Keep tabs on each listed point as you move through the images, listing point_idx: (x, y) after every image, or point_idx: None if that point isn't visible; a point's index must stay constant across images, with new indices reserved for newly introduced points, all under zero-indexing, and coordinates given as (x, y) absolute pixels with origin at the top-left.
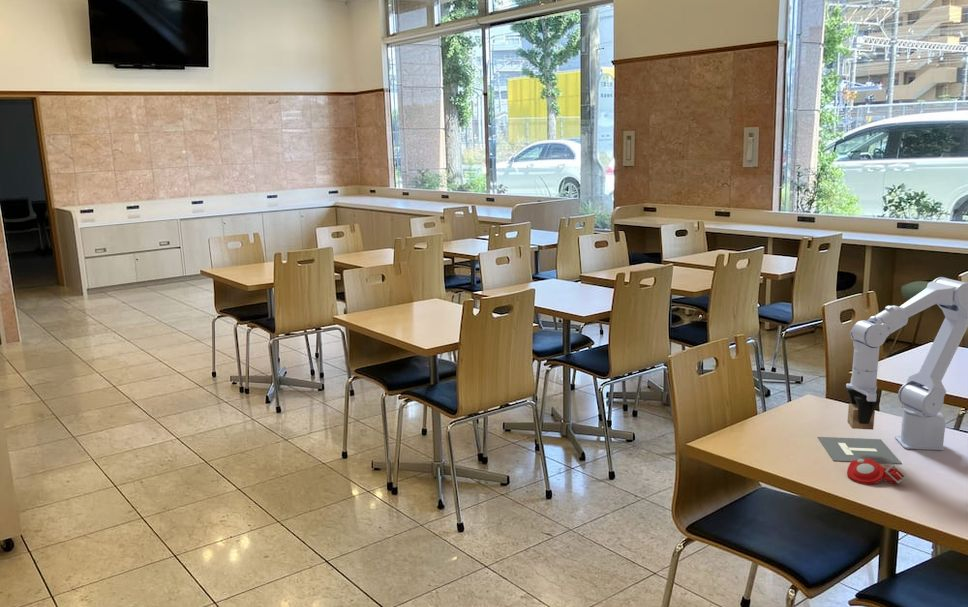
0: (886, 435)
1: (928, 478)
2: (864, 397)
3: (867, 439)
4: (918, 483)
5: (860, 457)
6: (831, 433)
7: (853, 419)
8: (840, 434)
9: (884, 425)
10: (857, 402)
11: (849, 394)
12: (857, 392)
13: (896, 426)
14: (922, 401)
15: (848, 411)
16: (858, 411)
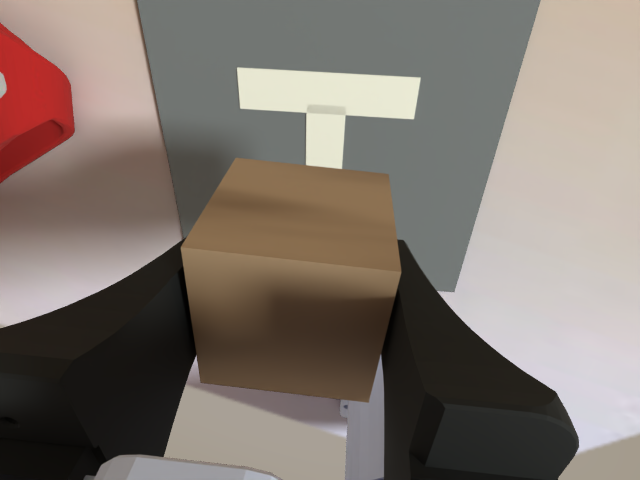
0: (504, 325)
1: (83, 295)
2: (3, 451)
3: (457, 243)
4: (19, 252)
5: (214, 131)
6: (596, 94)
7: (213, 197)
8: (565, 143)
9: (620, 357)
10: (14, 330)
11: (434, 360)
12: (400, 451)
13: (593, 385)
14: None
15: (384, 221)
16: (158, 272)
